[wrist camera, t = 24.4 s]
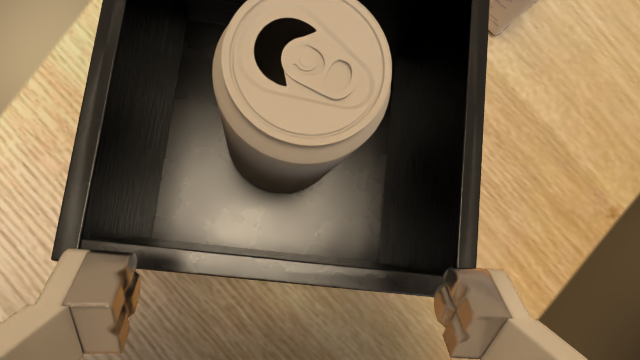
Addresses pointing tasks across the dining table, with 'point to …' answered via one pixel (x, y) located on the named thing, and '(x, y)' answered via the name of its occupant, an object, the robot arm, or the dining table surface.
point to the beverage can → (299, 88)
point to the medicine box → (506, 13)
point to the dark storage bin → (264, 206)
